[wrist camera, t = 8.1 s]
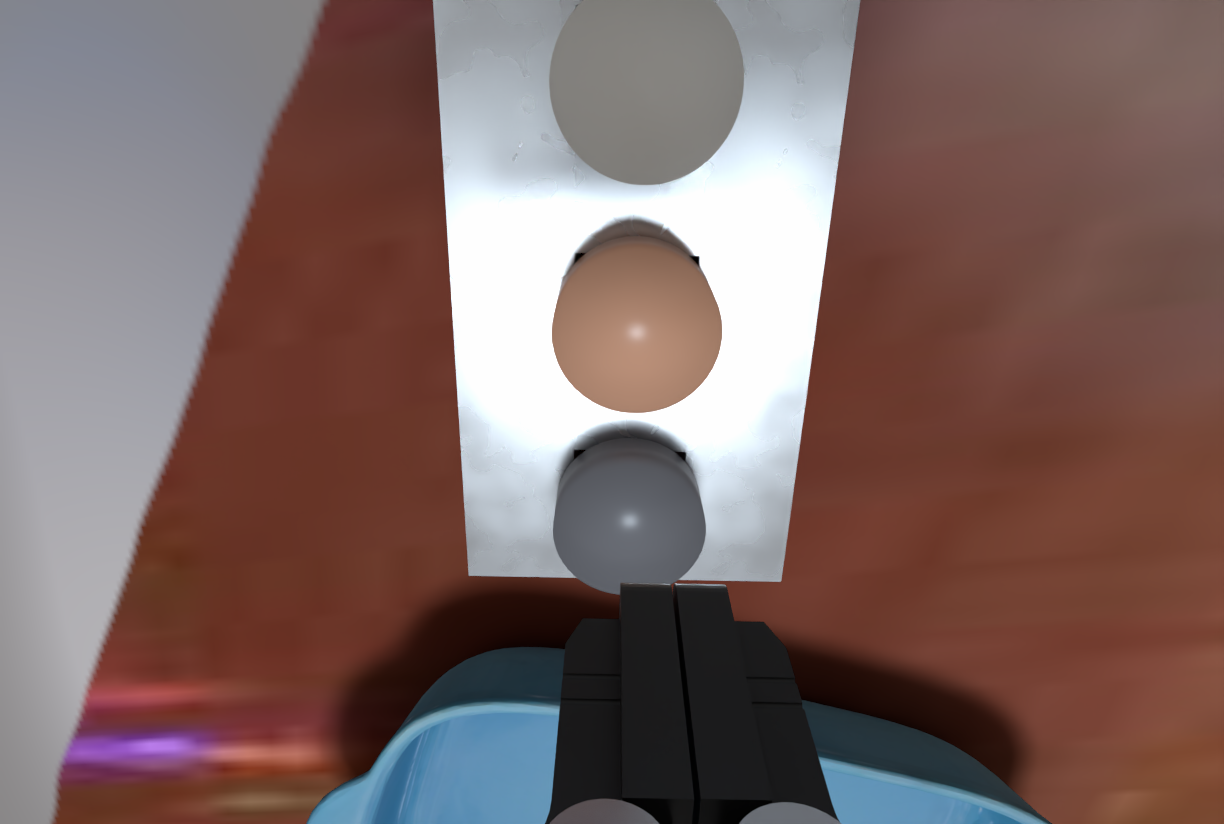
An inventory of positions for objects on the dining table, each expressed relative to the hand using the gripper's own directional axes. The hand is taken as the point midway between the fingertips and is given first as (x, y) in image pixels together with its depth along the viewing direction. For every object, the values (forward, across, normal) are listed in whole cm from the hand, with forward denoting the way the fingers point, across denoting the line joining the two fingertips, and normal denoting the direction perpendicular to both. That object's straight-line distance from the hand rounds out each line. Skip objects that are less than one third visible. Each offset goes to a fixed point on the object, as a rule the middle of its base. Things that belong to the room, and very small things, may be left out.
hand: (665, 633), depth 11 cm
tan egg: (+20, 0, 0) cm, 20 cm away
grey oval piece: (+20, 0, -7) cm, 21 cm away
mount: (+21, 0, 0) cm, 21 cm away
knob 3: (+20, 0, +7) cm, 21 cm away
